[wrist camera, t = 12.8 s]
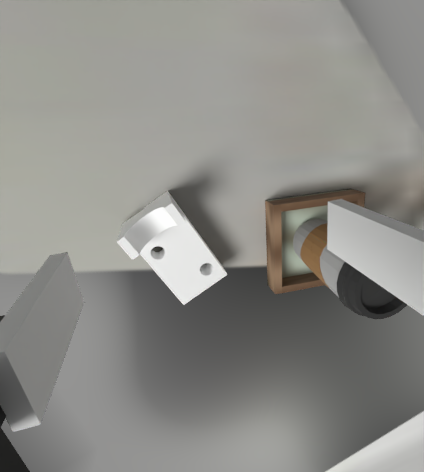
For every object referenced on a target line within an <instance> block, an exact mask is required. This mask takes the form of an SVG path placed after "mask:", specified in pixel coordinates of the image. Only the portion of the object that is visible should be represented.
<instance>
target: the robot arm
mask: <svg viewBox="0 0 424 472" xmlns="http://www.w3.org/2000/svg"><path fill="white" fill-rule="evenodd" d="M327 249H328V250H329V251H331V252H332V253H333V254H335V255H336V256H338V257H339V258H341V259H342V260H344V261H345V262H347V263H348V264H349V265H351V266H352V267H354V268H355V269H357V270H358V271H360V272H361V273H362V274H364V275H365V276H367V277H368V278H370V279H371V280H373V281H374V282H375V283H377V284H378V285H380V286H381V287H383V288H384V289H386V290H387V291H388V292H390V293H391V294H393V295H394V296H396V297H397V298H399V299H400V300H402V301H403V302H404V303H406V304H407V305H409V306H410V307H412V308H413V309H415V310H416V311H418V312H419V313H421V314H422V315H423V316H424V230H421V229H419V228H416V227H413V226H411V225H408V224H406V223H403V222H400V221H398V220H395V219H393V218H390V217H387V216H385V215H382V214H379V213H377V212H374V211H372V210H369V209H366V208H364V207H361V206H358V205H356V204H353V203H351V202H348V201H345V200H343V199H338V200H333V201H328V225H327ZM83 305H84V299H83V296H82V294H81V291H80V288H79V285H78V282H77V279H76V276H75V273H74V270H73V267H72V264H71V262H70V259H69V256H68V253H67V252H66V253H61V254H55V255H50V256H49V258H48V259H47V260H46V262H45V263H44V264H43V266H42V267H41V268H40V270H39V271H38V272H37V274H36V275H35V276H34V278H33V279H32V280H31V282H30V283H29V284H28V286H27V287H26V288H25V290H24V291H23V292H22V294H21V295H20V296H19V298H18V299H17V300H16V302H15V303H14V304H13V306H12V307H11V309H10V310H9V311H8V312H7V314H6V315H4V316H0V472H30V471H29V470H28V468H27V467H26V465H25V464H24V462H23V461H22V459H21V458H20V456H19V455H18V453H17V452H16V450H15V449H14V447H13V446H12V444H11V442H10V441H9V439H8V438H7V436H6V435H5V433H4V432H3V430H2V429H1V425H2V423H3V421H4V419H5V418H6V420H7V422H8V424H9V425H10V427H11V429H12V431H13V432H14V431H18V430H22V429H26V428H30V427H33V426H37V425H40V424H41V422H42V420H43V417H44V414H45V411H46V408H47V405H48V402H49V400H50V397H51V394H52V391H53V388H54V386H55V383H56V380H57V378H58V375H59V372H60V369H61V366H62V364H63V361H64V358H65V355H66V352H67V350H68V347H69V344H70V341H71V338H72V335H73V333H74V330H75V327H76V324H77V322H78V319H79V316H80V313H81V310H82V307H83Z"/></svg>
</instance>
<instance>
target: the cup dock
mask: <svg viewBox="0 0 424 472" xmlns="http://www.w3.org/2000/svg"><path fill="white" fill-rule="evenodd" d="M338 199H343V200H345V201H348V202H351V203H353V204H356V205H358V206H361V207H364V201H365V192H361V191H357V190H353V189H347V190H339V191H332V192H325V193H317V194H310V195H302V196H295V197H288V198H280V199H273V200H266V201H265V205H266V241H267V277H268V285H269V287H270V288H271V289H272V291H273V292H274V293H275V294H279V293H285V292H290V291H296V290H301V289H306V288H311V287H316V286H322V285H325V284H324V283H323V282H322V281H321V280H320V279H319V278H318V277H317V276H316V275H315V274H314V273H313V272H312V271H311V270H310V269H309V268H308V267H307V266H306V264H305V263H304V262H303V261H302V260H301V259H300V258H299V257H298V255H297V254H296V253H295V250H294V247H293V238H294V235H295V232H296V230H297V229H298V228H299V227H300V226H301V225H302V224H303V223H305V222H307V221H309V220H312V219H322V220H325V221H328V201H333V200H338Z"/></svg>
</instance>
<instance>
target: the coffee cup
mask: <svg viewBox="0 0 424 472" xmlns="http://www.w3.org/2000/svg"><path fill="white" fill-rule="evenodd" d="M327 225H328V221H325V220H322V219H312V220H309V221H307V222H305V223H303V224H302V225H301V226H300V227H299V228H298V229H297V230H296V232H295V235H294V238H293V247H294V250H295V253H296V254H297V255H298V257H299V258H300V259H301V260H302V261H303V262H304V263H305V264H306V266H307V267H308V268H309V269H310V270H311V271H312V272H313V273H314V274H315V275H316V276H317V277H318V278H319V279H320V280H321V281H322V282H323V283H324V284H325V285H326V286H327V287H328V288H330V289H331V290H332V291H333V292H334V293H335V294H336V295H337V296H338V297H339V299H340V301H341V302H342V303H343V304H344V306H346V307H348V308H349V309H351V310H352V311H354V312H355V313H357V314H358V315H362V316H367V317H368V318H373V319H383V318H387V317H390V316H392V315H394V314H396V313H398V312H399V311H401V310H402V309H403V308H404V307H406V306H407V304H406V303H404V302H403V301H402V300H400V299H399V298H397V297H396V296H394V295H393V294H391V293H390V292H388V291H387V290H386V289H384V288H383V287H381V286H380V285H378V284H377V283H375V282H374V281H373V280H371V279H370V278H368V277H367V276H365V275H364V274H362V273H361V272H360V271H358V270H357V269H355V268H354V267H352V266H351V265H349V264H348V263H347V262H345V261H344V260H342V259H341V258H339V257H338V256H336V255H335V254H333V253H332V252H331V251H329V250H328V249H327Z"/></svg>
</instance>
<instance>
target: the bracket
mask: <svg viewBox="0 0 424 472" xmlns="http://www.w3.org/2000/svg"><path fill="white" fill-rule="evenodd" d="M117 243H118V244H119V245H120V246H121V247H122V249H123V250H124V251H125V252H126V253H127V254H128V255H129V257H130V258H131V259H132V260H133V259H135V258H136V257H137V256H139V255H141V256H142V257H143V258H144V259H145V260H146V262H147V263H148V264H149V265H150V266H151V267H152V269H153V270H154V271H155V272H156V273H157V274H158V276H159V277H160V278H161V279H162V280H163V281H164V283H165V284H166V285H167V286H168V287H169V288H170V290H171V291H172V292H173V293H174V294H175V295H176V297H177V298H178V299H179V300H180V301H181V302H182V304H183V305H184V304H186V303H187V302H189V301H190V300H191V299H193V298H194V297H196V296H197V295H199V294H200V293H202V292H203V291H204V290H206V289H207V288H209V287H210V286H212V285H213V284H214V283H216V282H217V281H219V280H220V279H222V278H223V277H224V276H226V275H227V273H226V271H225V270H224V268H223V266H222V264H221V263H220V262H219V260H218V259H217V258H216V256H215V255H214V253H213V252H212V251H211V249H210V248H209V247H208V245H207V244H206V243H205V241H204V240H203V238H202V237H201V236H200V234H199V233H198V232H197V230H196V229H195V227H194V226H193V225H192V223H191V222H190V221H189V219H188V218H187V217H186V215H185V214H184V212H183V211H182V210H181V208H180V207H179V206H178V204H177V203H176V201H175V200H174V199H173V197H172V196H171V195H170V193H169V192H168V191H166V192H165V193H164V194H162V195H161V196H159V197H158V198H157V199H155V200H154V201H152V202H151V203H149V204H148V205H147V206H145V208H144V209H143V210H141V211H140V212H138V213H137V214H136V215H134V216H133V217H131V218H130V219H128V220H127V221H126V222H124V223H123V224H122V225H121V228H120V232H119V235H118V239H117ZM156 246H160V247H162V248H163V250H162V251H160V252H154V251H153V250H152V249H153V248H154V247H156ZM205 263H207V264H205ZM203 264H205V265H203Z"/></svg>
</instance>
